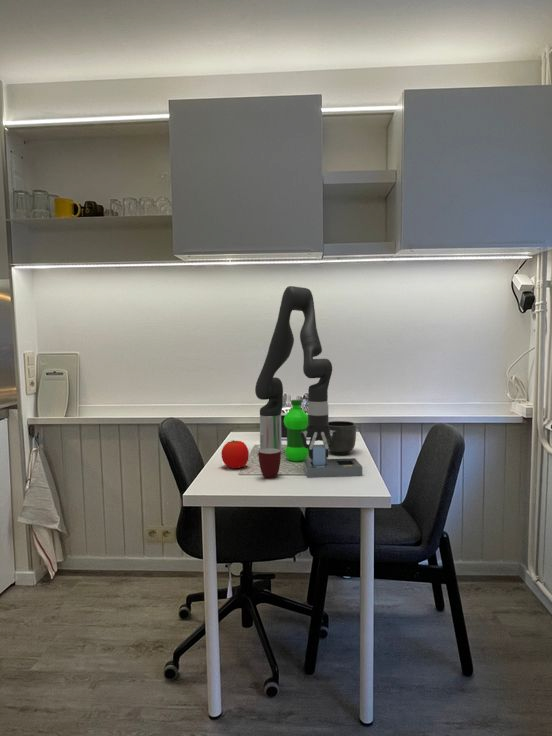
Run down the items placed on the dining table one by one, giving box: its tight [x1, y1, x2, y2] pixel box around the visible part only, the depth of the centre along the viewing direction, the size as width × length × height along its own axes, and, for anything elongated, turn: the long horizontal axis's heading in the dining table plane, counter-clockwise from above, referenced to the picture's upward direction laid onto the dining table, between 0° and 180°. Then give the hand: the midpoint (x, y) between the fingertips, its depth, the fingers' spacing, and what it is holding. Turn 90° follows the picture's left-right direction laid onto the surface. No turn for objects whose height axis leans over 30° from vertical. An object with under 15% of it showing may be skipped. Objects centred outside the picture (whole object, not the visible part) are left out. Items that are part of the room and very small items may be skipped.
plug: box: [311, 444, 326, 466], centre depth 184 cm, size 4×4×10 cm
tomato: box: [220, 439, 250, 469], centre depth 195 cm, size 10×11×11 cm
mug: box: [258, 448, 282, 480], centre depth 181 cm, size 10×8×10 cm
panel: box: [302, 457, 363, 479], centre depth 185 cm, size 20×12×4 cm, turn 94°
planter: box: [326, 420, 357, 456], centre depth 216 cm, size 14×14×13 cm
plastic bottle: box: [283, 399, 309, 462], centre depth 203 cm, size 10×10×25 cm
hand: (318, 458), depth 184 cm, fingers closed on plug, 4 cm apart
